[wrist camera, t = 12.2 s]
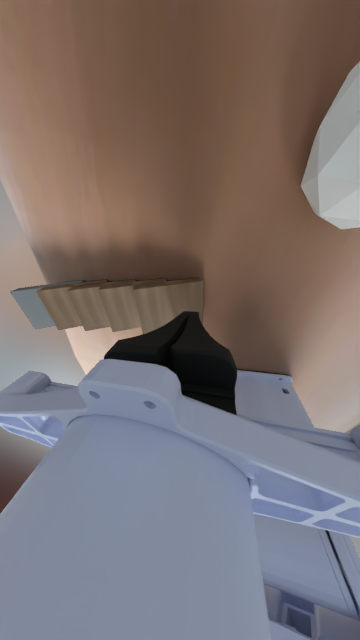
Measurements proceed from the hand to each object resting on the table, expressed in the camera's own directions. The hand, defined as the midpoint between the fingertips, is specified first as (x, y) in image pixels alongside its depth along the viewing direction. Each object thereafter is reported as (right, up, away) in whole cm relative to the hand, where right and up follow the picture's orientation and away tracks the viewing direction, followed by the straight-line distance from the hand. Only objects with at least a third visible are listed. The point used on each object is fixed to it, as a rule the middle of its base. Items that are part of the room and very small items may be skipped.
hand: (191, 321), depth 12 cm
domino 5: (+1, +2, +4) cm, 5 cm away
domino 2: (-10, +3, +6) cm, 12 cm away
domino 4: (-2, +3, +5) cm, 6 cm away
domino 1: (-14, +3, +7) cm, 16 cm away
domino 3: (-6, +3, +6) cm, 9 cm away
